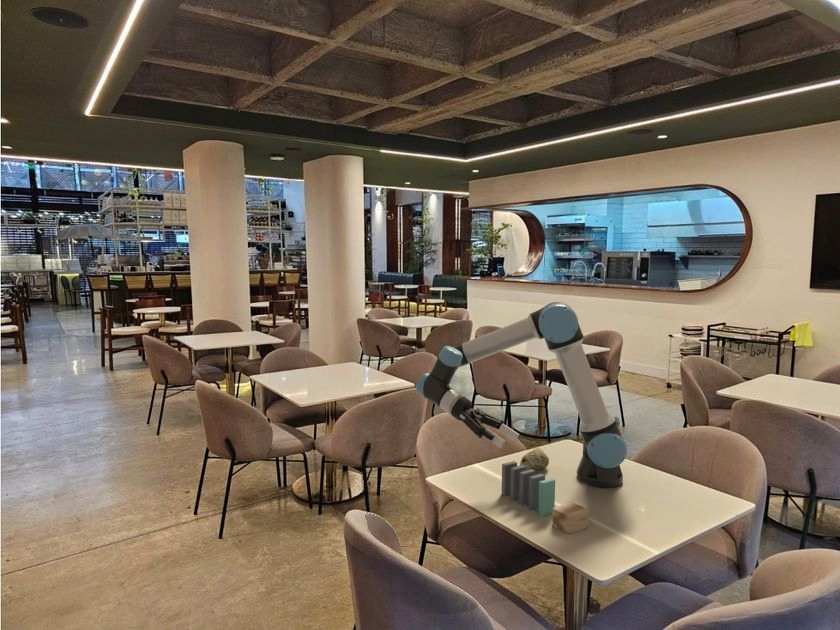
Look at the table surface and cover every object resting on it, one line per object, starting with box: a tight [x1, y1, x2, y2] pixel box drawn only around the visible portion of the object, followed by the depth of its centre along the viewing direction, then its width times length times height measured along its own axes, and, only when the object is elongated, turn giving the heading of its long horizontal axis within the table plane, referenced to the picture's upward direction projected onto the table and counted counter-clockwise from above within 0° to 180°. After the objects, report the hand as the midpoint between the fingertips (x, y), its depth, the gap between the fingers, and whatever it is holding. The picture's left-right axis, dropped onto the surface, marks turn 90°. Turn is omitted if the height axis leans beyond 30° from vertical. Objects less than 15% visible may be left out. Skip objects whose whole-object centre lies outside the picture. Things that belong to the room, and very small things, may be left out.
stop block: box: [551, 501, 590, 535], centre depth 151 cm, size 6×8×5 cm
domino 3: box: [518, 469, 536, 506], centre depth 166 cm, size 2×5×10 cm, turn 121°
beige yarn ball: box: [519, 447, 550, 471], centre depth 195 cm, size 10×10×10 cm
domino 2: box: [509, 465, 526, 501], centre depth 169 cm, size 2×5×10 cm, turn 122°
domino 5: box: [537, 478, 556, 517], centre depth 159 cm, size 2×5×10 cm, turn 121°
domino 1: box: [501, 460, 518, 496], centre depth 173 cm, size 2×5×10 cm, turn 122°
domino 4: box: [528, 473, 546, 512], centre depth 162 cm, size 2×5×10 cm, turn 121°
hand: (510, 441), depth 168 cm, fingers open, 13 cm apart
